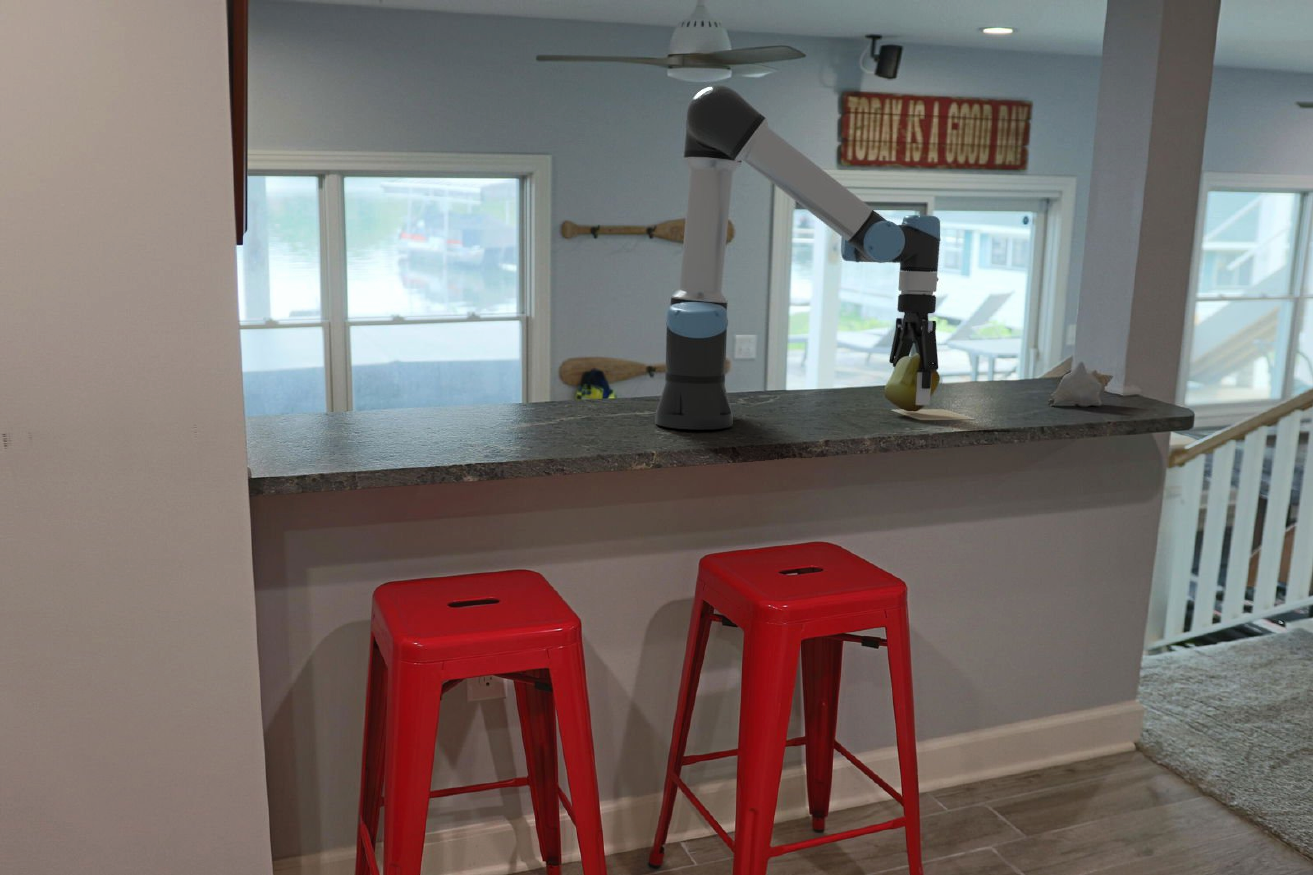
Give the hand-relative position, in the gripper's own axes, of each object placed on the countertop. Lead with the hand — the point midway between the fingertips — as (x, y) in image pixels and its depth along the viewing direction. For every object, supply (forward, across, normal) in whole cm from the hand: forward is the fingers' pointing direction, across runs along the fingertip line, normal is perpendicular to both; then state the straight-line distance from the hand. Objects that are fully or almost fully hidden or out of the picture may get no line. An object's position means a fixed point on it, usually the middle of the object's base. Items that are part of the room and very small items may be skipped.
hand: (910, 401), depth 227 cm
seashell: (+4, +10, -41) cm, 43 cm away
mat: (+3, +1, -5) cm, 6 cm away
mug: (0, -1, +4) cm, 5 cm away
